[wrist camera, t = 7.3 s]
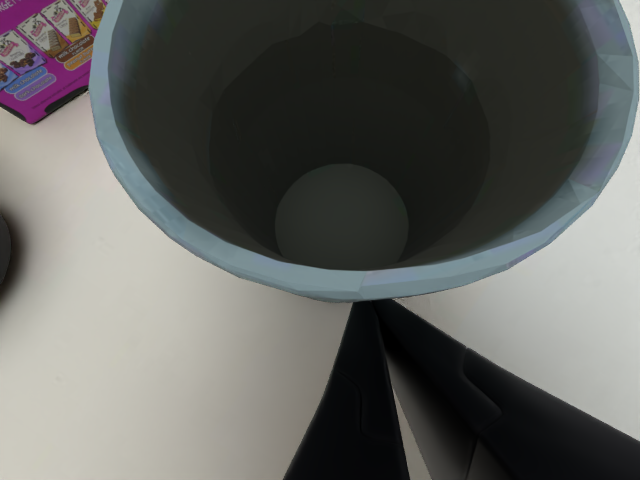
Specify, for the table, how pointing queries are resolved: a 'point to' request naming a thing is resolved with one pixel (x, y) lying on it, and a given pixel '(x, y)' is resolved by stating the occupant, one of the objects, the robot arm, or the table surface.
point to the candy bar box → (45, 53)
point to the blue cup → (364, 132)
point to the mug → (4, 248)
